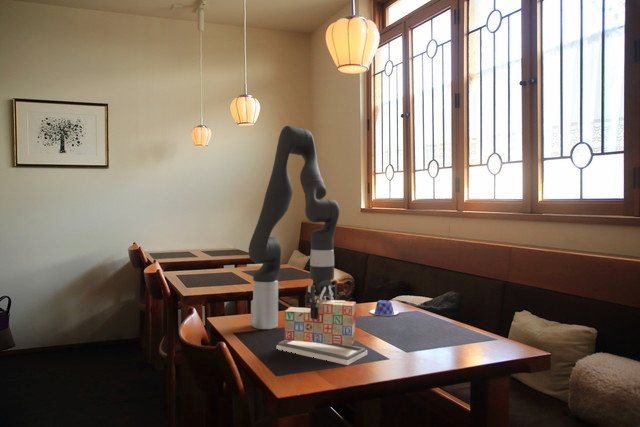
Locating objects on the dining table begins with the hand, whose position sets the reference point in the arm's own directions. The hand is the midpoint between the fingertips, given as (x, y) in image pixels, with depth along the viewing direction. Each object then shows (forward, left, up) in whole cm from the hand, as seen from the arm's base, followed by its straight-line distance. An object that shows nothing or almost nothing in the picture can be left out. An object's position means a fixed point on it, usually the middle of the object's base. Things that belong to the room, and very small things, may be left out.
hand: (321, 316), depth 153 cm
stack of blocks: (0, 0, -8) cm, 8 cm away
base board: (0, 0, -11) cm, 11 cm away
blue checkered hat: (-8, +59, -12) cm, 61 cm away
